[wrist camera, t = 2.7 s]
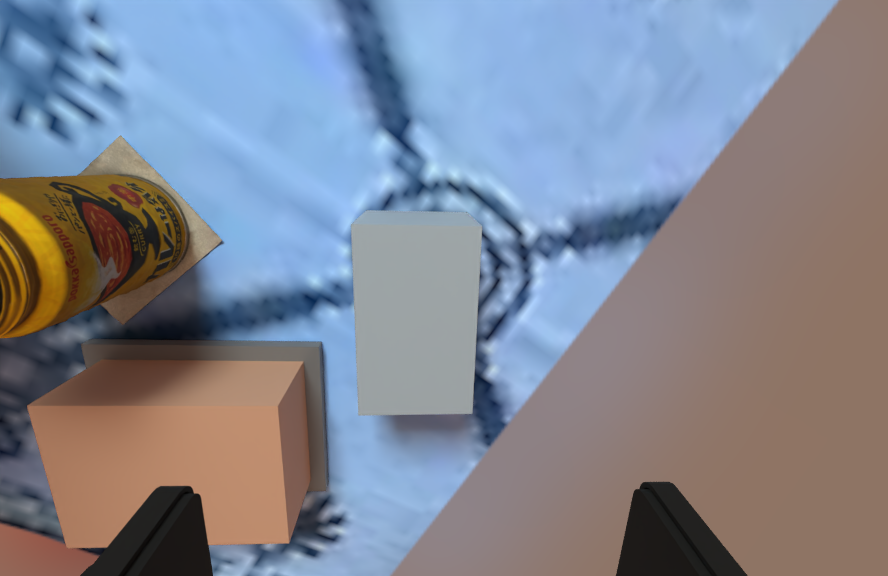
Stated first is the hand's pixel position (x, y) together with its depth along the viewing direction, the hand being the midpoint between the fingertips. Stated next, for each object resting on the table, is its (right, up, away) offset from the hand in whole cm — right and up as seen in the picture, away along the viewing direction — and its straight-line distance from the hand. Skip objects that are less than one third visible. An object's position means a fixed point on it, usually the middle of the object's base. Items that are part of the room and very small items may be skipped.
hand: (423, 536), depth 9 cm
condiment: (-18, +9, +15) cm, 25 cm away
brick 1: (-15, -3, +18) cm, 23 cm away
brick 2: (-1, +5, +17) cm, 18 cm away
